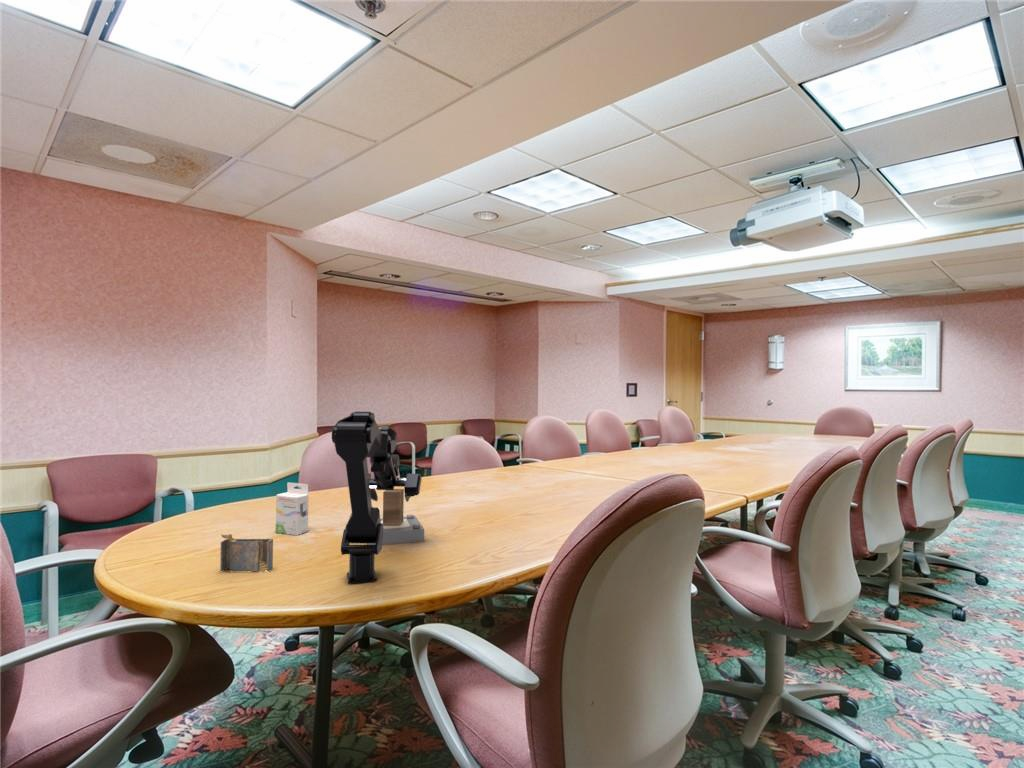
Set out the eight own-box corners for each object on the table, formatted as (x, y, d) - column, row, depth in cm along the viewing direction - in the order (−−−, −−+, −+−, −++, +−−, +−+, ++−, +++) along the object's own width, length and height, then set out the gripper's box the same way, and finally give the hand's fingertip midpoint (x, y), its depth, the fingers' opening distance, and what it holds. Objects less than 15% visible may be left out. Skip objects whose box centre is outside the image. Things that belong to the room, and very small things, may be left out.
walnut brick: (399, 525, 155) (400, 492, 156) (382, 525, 156) (383, 492, 156) (403, 521, 160) (403, 488, 161) (387, 521, 161) (387, 488, 161)
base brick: (424, 541, 153) (424, 526, 153) (367, 546, 148) (367, 530, 148) (415, 527, 168) (415, 513, 168) (363, 531, 163) (364, 517, 163)
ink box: (274, 533, 160) (275, 484, 160) (286, 529, 164) (286, 481, 164) (297, 536, 157) (298, 486, 157) (308, 531, 162) (309, 483, 162)
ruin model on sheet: (219, 574, 126) (219, 534, 126) (225, 570, 129) (226, 530, 129) (267, 574, 126) (267, 534, 126) (272, 569, 129) (273, 530, 129)
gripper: (420, 446, 151) (427, 478, 162) (356, 445, 152) (366, 477, 162) (415, 478, 143) (422, 509, 154) (347, 477, 144) (358, 508, 154)
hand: (392, 500), depth 157 cm, fingers open, 9 cm apart
